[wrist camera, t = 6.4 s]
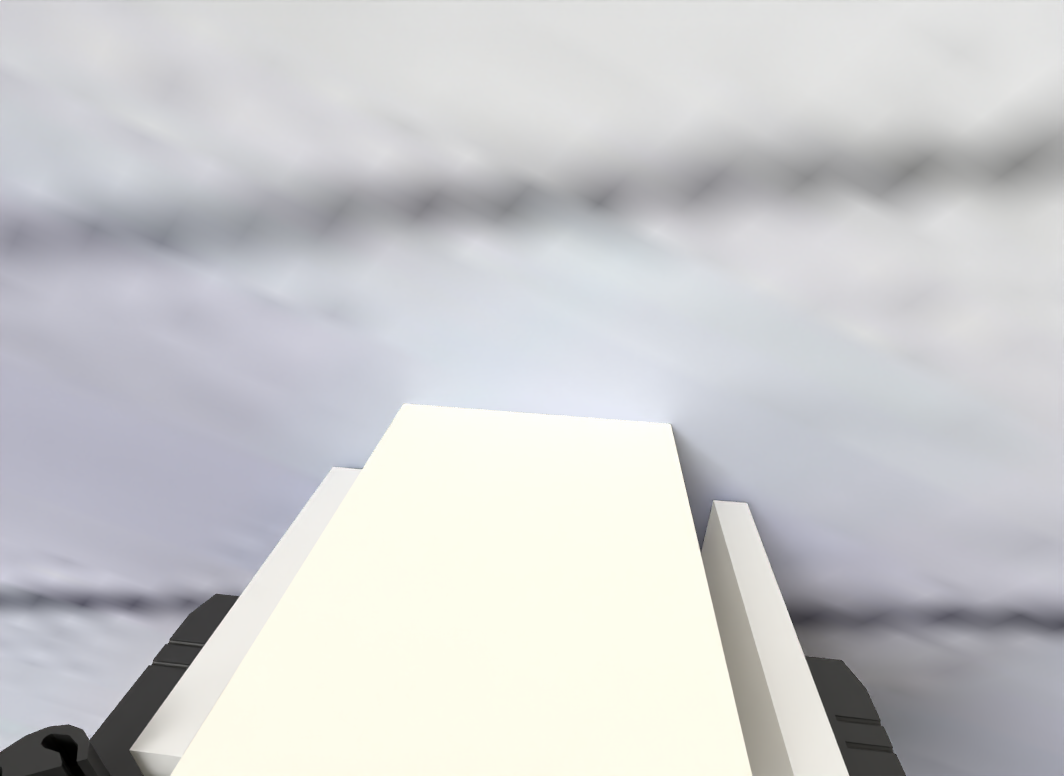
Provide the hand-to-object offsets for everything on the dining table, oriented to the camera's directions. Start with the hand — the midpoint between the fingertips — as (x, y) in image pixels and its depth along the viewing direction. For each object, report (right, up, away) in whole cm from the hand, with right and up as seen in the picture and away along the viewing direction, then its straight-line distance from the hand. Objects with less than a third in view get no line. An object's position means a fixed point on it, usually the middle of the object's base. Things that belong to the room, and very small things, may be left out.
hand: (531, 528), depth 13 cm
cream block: (0, 0, 0) cm, 0 cm away
